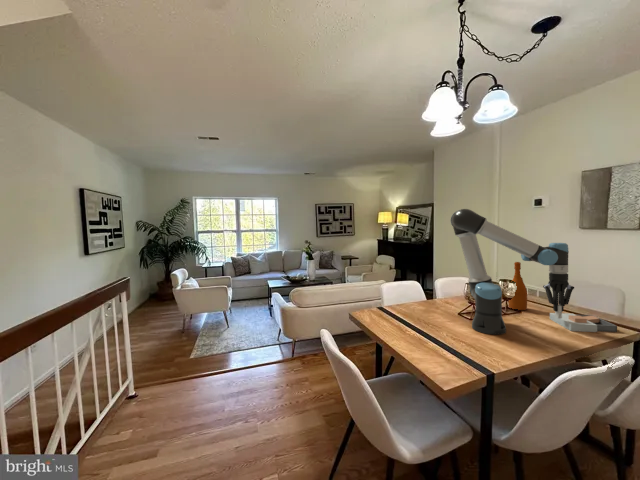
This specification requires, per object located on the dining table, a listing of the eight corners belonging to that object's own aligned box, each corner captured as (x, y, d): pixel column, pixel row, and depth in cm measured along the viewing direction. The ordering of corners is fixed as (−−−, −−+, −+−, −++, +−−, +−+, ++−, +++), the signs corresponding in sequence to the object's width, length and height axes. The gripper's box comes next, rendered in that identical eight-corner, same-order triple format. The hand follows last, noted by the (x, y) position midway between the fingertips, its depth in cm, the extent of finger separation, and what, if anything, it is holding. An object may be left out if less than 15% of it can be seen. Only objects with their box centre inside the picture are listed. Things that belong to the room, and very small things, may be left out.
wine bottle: (530, 311, 169) (530, 262, 168) (512, 310, 171) (512, 263, 170) (522, 306, 179) (522, 260, 177) (505, 306, 181) (505, 261, 179)
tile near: (575, 322, 139) (575, 318, 139) (568, 319, 144) (568, 315, 144) (586, 322, 138) (586, 318, 138) (579, 319, 143) (579, 315, 143)
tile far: (599, 318, 144) (599, 322, 144) (592, 315, 149) (592, 319, 149) (587, 319, 145) (588, 323, 145) (581, 316, 150) (582, 320, 150)
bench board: (570, 330, 137) (570, 324, 137) (549, 318, 155) (549, 312, 154) (597, 332, 134) (597, 325, 134) (572, 319, 152) (572, 313, 152)
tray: (596, 331, 136) (596, 325, 136) (573, 319, 152) (573, 314, 152) (617, 331, 134) (617, 325, 134) (592, 320, 150) (592, 315, 150)
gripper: (548, 273, 140) (548, 319, 141) (578, 273, 137) (578, 320, 138) (539, 271, 147) (539, 314, 148) (568, 271, 144) (568, 315, 145)
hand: (558, 317), depth 143 cm, fingers closed
